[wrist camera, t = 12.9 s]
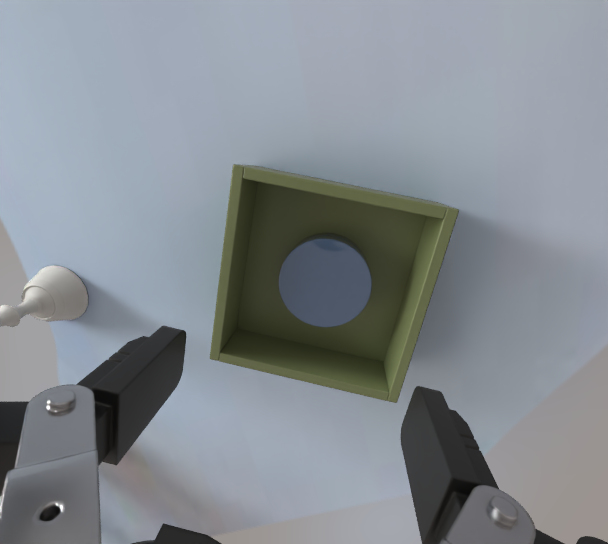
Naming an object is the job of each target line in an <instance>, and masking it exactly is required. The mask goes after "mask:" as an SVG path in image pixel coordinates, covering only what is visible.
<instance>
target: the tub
mask: <svg viewBox="0 0 608 544" xmlns="http://www.w3.org/2000/svg"><path fill="white" fill-rule="evenodd" d="M458 212H459V210H458V209H455V208H452V207H449V206H446V205H443V204H441V203H438V202H433V201H428V200H423V199H418V198H413V197H408V196H403V195H398V194H393V193H388V192H383V191H378V190H373V189H368V188H363V187H358V186H353V185H348V184H343V183H338V182H333V181H328V180H323V179H318V178H313V177H308V176H304V175H299V174H294V173H289V172H284V171H279V170H274V169H269V168H264V167H259V166H252V165H233V170H232V178H231V186H230V195H229V203H228V211H227V219H226V228H225V236H224V244H223V252H222V261H221V269H220V277H219V286H218V294H217V302H216V310H215V319H214V327H213V335H212V343H211V352H210V359H213V360H217V361H220V362H225V363H229V364H233V365H237V366H241V367H246V368H250V369H254V370H258V371H263V372H267V373H271V374H275V375H280V376H284V377H288V378H292V379H296V380H301V381H305V382H309V383H313V384H318V385H322V386H326V387H330V388H335V389H339V390H343V391H347V392H351V393H356V394H360V395H364V396H368V397H373V398H377V399H381V400H385V401H390V402H395V403H397V400H398V397H399V394H400V391H401V388H402V385H403V382H404V379H405V376H406V373H407V370H408V367H409V363H410V360H411V357H412V354H413V351H414V348H415V345H416V342H417V339H418V336H419V333H420V330H421V326H422V323H423V320H424V317H425V314H426V311H427V308H428V305H429V302H430V299H431V296H432V292H433V289H434V286H435V283H436V280H437V277H438V274H439V271H440V268H441V265H442V262H443V259H444V255H445V252H446V249H447V246H448V243H449V240H450V237H451V234H452V231H453V228H454V225H455V222H456V218H457V215H458ZM317 233H335V234H339V235H342V236H344V237H347V238H348V239H350V240H352V241H353V242H354V243H355V244H357V245H358V246H359V248H360V249H361V250H362V251H363V253H364V255H365V256H366V259H367V261H368V264H369V269H370V273H371V277H372V290H371V295H370V298H369V301H368V303H367V305H366V306H365V308H364V309H363V310H362V312H361V313H360V314H359V315H358V316H356V317H355V318H354V319H352V320H351V321H349V322H347V323H345V324H342V325H339V326H335V327H317V326H313V325H310V324H307V323H305V322H303V321H301V320H300V319H298V318H297V317H295V316H294V315H293V314H292V313H291V312H290V311H289V310H288V308H287V307H286V305H285V304H284V302H283V300H282V298H281V295H280V291H279V282H278V280H279V273H280V269H281V266H282V264H283V262H284V260H285V258H286V257H287V256H288V254H289V253H290V251H291V250H292V249H293V247H294V246H295V245H296V244H297V243H298V242H300V241H301V240H302V239H304V238H306V237H308V236H311V235H313V234H317Z"/></svg>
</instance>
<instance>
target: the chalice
mask: <svg viewBox="0 0 608 544" xmlns="http://www.w3.org/2000/svg"><path fill="white" fill-rule="evenodd" d="M87 305H88V294H87V291H86V287H85V286H84V284H83V282H82V281H81V279H80V278H79V277H78V276H77V275H76V274H75V273H74V272H72V271H70V270H68V269H67V268H65V267H61V266H56V265H55V266H47V267H45V268H43V269H41V270H40V271H39V272H38V273H37V275H36V276H34V277H33V278H32V280H31V281H30V282H28V283H27V284H26V286H25V287H24V290H23V294H22V303H21V304H20V305H18V306H12V307H11V306H8V305H2V306H0V326H5V325H6V326H10V327H14V326H17V325H18V324H19V322H20V319H21V318H22V317H23V316H25V315H26V314H30V315H31V316H33V317H35V318H37V319H40V320H45V321H60V320H74V319H76V318H78V317H80V316H81V315H82V314H83V313H84V312H85V311H86V308H87Z"/></svg>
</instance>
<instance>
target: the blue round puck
mask: <svg viewBox="0 0 608 544" xmlns="http://www.w3.org/2000/svg"><path fill="white" fill-rule="evenodd" d="M278 282H279V291H280V295H281V298H282V300H283V302H284V304H285V305H286V307H287V308H288V310H289V311H290V312H291V313H292V314H293V315H294V316H295V317H297V318H298V319H300V320H301V321H303V322H305V323H307V324H310V325H313V326H317V327H335V326H339V325H342V324H345V323H347V322H349V321H351V320H352V319H354V318H355V317H356V316H358V315H359V314H360V313H361V312H362V310H363V309H364V308H365V306H366V305H367V303H368V301H369V298H370V295H371V290H372V277H371V273H370V269H369V264H368V261H367V259H366V256H365V255H364V253H363V251H362V250H361V249H360V248H359V246H358V245H357V244H355V243H354V242H353V241H352V240H350V239H348V238H347V237H344V236H342V235H339V234H335V233H317V234H313V235H311V236H308V237H306V238H304V239H302V240H301V241H300V242H298V243H297V244H296V245H295V246H294V247H293V249H292V250H291V251H290V253H289V254H288V256H287V257H286V258H285V260H284V262H283V264H282V266H281V269H280V273H279V280H278Z"/></svg>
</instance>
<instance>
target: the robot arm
mask: <svg viewBox="0 0 608 544" xmlns="http://www.w3.org/2000/svg"><path fill="white" fill-rule="evenodd" d="M185 344H186V332H185V331H184V330H180V329H175V328H171V327H167V326H162V327H161V328H159V329H158V330H157V331H156V332H155V333H154V334H152V335H151V336H150V337H145V336H143V337H140V338H138V339H135V340H133V341H130V342H128V343H127V344H126V345H125V346H123V347H122V348H121V349H120V350H118V352H117V353H115V354H113V355H112V356H111V357H110V358H109V360H106V361H105V362H104V363H102V364H101V365H100V366H99V367H97V368H96V369H95V370H94V371H92V372H91V373H90V374H89V375H87V376H86V377H85V378H84V379H83V380H81V381H80V382H79V383H78V384H76V385H61V386H57V387H53V388H50V389H47V390H45V391H43V392H41V393H39V394H38V395H36V396H35V397H34V398H33V399H32V400H31V401H30V402H0V496H1V501H0V544H101V522H100V497H99V473H98V466H99V465H100V463H101V462H106V463H110V464H114V465H117V464H118V463H119V462H120V460H121V459H122V458H123V456H124V455H125V454H126V452H127V451H128V450H129V448H130V447H131V446H132V445H133V443H134V442H135V441H136V439H137V438H138V437H139V435H140V434H141V433H142V431H143V430H144V429H145V428H146V426H147V425H148V424H149V422H150V421H151V420H152V418H153V417H154V416H155V414H156V413H157V412H158V410H159V409H160V408H161V407H162V405H163V404H164V403H165V401H166V400H167V399H168V397H169V396H170V395H171V393H172V392H173V391H174V390H175V388H176V387H177V385H178V383H179V381H180V378H181V375H182V371H183V363H184V353H185ZM401 445H402V450H403V455H404V459H405V464H406V469H407V474H408V478H409V483H410V488H411V493H412V497H413V502H414V507H415V512H416V517H417V521H418V526H419V531H420V536H421V540H422V544H564V543H562V542H560V541H558V540H556V539H554V538H552V537H550V536H548V535H546V534H544V533H542V532H541V531H539V530H537V529H535V526H534V523H533V521H532V519H531V518H530V516H529V514H528V513H527V511H526V510H525V509H524V508H523V507H522V506H521V505H520V504H519V503H518V502H517V501H516V500H515V499H514V498H512V497H511V496H509V495H508V494H506V493H505V492H503V491H501V490H499V488H498V486H497V484H496V482H495V480H494V478H493V476H492V474H491V471H490V469H489V468H488V465H487V463H486V461H485V459H484V457H483V455H482V453H481V451H479V447H478V445H477V443H476V440H474V436H473V434H472V432H471V430H470V428H469V426H468V424H467V423H466V422H465V421H464V420H463V418H462V417H461V416H460V415H459V414H458V413H457V412H456V411H454V410H450V409H449V408H448V405H447V403H446V401H445V399H444V396H443V394H442V393H441V392H440V391H436V390H432V389H428V388H424V387H419V386H417V387H416V388H415V390H414V392H413V395H412V398H411V401H410V403H409V406H408V409H407V412H406V415H405V418H404V421H403V424H402V428H401ZM132 544H221V543H219V542H218V541H216V540H214V539H213V538H211V537H210V536H208V535H205V534H201V533H197V532H193V531H190V530H186V529H182V528H178V527H174V526H171V525H167V524H163V525H162V527H161V529H160V531H159V533H158V535H157V537H156V539H155V540H150V541H142V542H136V543H132ZM576 544H608V543H607V542H605V541H603V540H600V539H597V538H594V537H588V536H585V537H581V538H580V539H579V540H578V541H577V543H576Z"/></svg>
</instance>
